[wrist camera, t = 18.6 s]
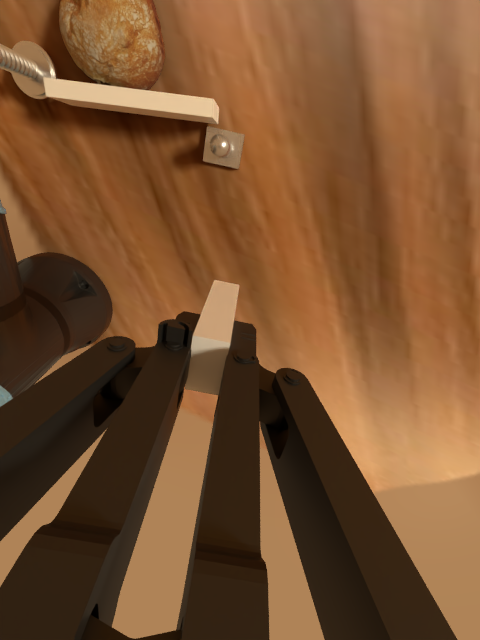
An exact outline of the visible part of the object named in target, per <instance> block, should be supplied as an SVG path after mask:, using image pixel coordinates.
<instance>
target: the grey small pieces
mask: <svg viewBox="0 0 480 640" xmlns="http://www.w3.org/2000/svg"><path fill="white" fill-rule="evenodd" d="M244 137H245V135H244V134H239V133H235V132H231V131H226V130H222V129H218V128H213V127H209V126H207V131H206V139H205V147H204V155H203V161H205V162H209V163H214V164H218V165H223V166H227V167H232V168H236V169H239V166H240V160H241V154H242V149H243V143H244Z"/></svg>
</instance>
